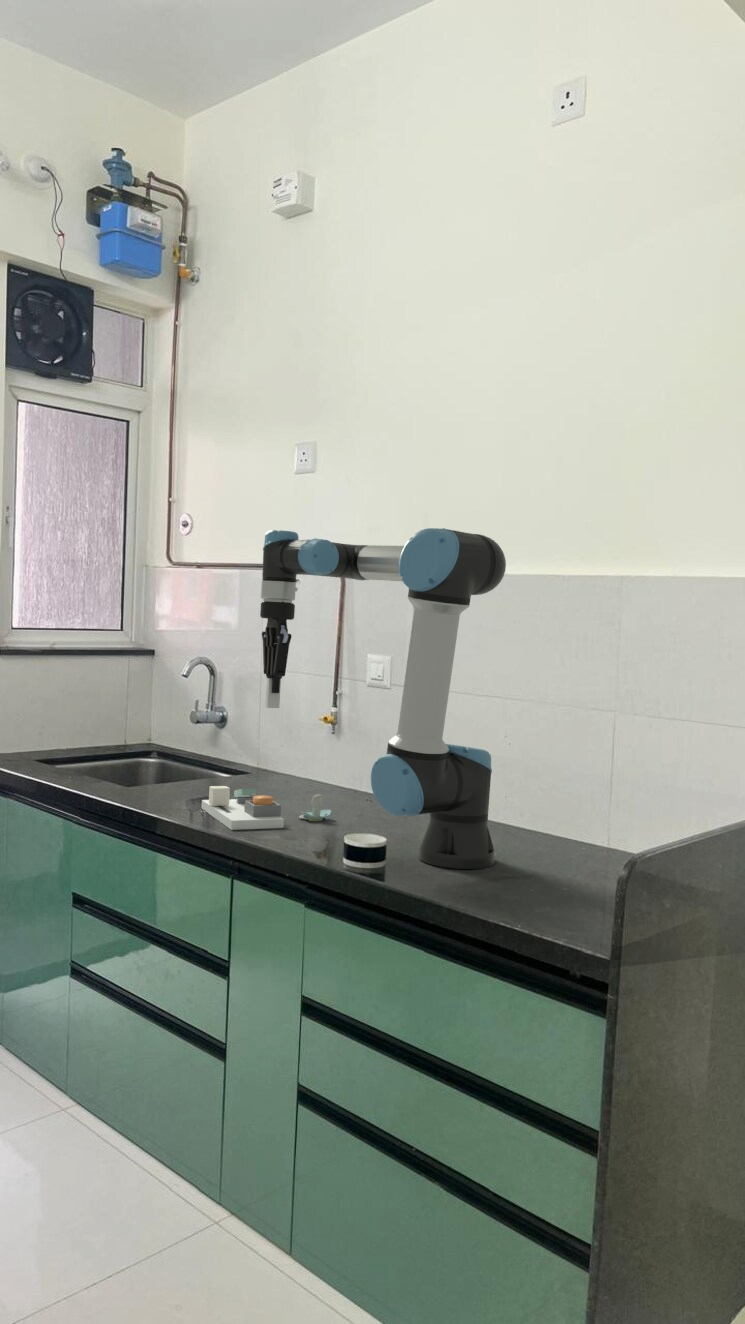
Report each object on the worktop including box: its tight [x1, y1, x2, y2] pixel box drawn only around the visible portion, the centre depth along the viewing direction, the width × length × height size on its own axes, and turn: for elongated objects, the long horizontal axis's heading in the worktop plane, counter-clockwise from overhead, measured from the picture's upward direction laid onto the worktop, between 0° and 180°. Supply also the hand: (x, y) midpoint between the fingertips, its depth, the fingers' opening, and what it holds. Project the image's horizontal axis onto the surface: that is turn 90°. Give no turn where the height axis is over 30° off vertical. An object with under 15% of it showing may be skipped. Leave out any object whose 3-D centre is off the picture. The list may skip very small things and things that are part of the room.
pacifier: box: [299, 793, 332, 822], centre depth 235 cm, size 7×6×6 cm
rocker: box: [233, 787, 258, 798], centre depth 239 cm, size 6×4×1 cm, turn 25°
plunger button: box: [252, 794, 274, 805], centre depth 228 cm, size 4×4×3 cm
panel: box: [201, 796, 285, 831], centre depth 232 cm, size 24×12×4 cm, turn 25°
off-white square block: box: [208, 785, 231, 806], centre depth 234 cm, size 3×4×4 cm
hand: (272, 707), depth 224 cm, fingers closed
